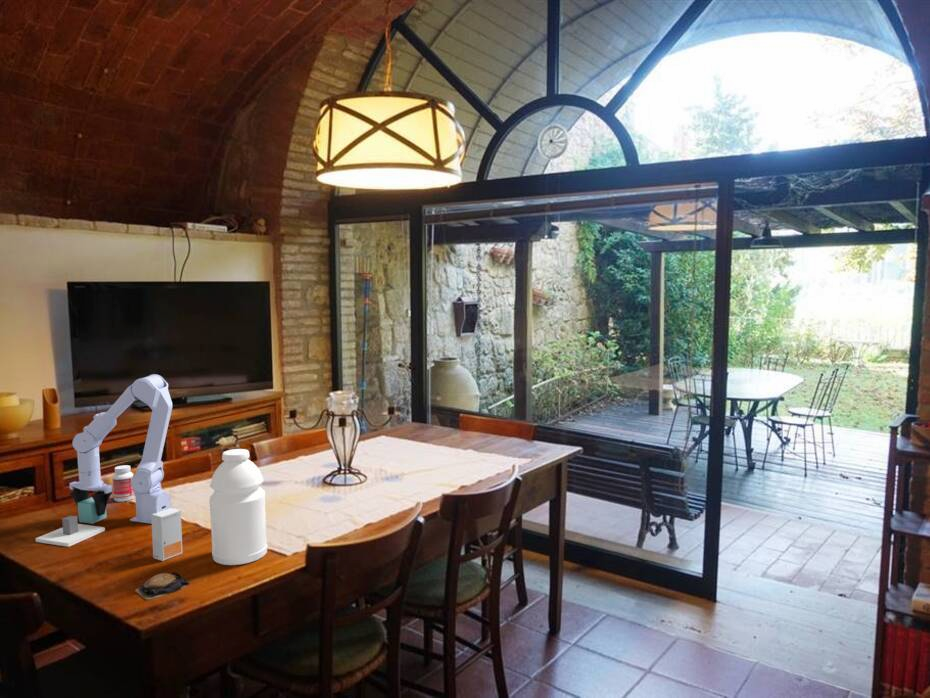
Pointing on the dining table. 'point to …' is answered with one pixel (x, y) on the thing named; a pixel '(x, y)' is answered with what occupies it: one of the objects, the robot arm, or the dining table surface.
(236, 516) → the bottle
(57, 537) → the post base
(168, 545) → the skincare box
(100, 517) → the teal toy cube
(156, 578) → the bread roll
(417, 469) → the dining table surface
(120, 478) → the pill bottle
